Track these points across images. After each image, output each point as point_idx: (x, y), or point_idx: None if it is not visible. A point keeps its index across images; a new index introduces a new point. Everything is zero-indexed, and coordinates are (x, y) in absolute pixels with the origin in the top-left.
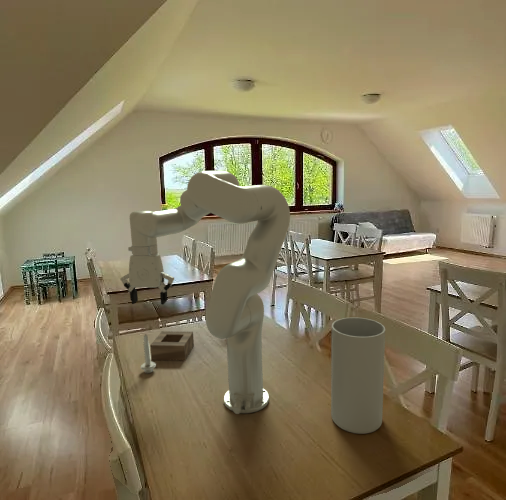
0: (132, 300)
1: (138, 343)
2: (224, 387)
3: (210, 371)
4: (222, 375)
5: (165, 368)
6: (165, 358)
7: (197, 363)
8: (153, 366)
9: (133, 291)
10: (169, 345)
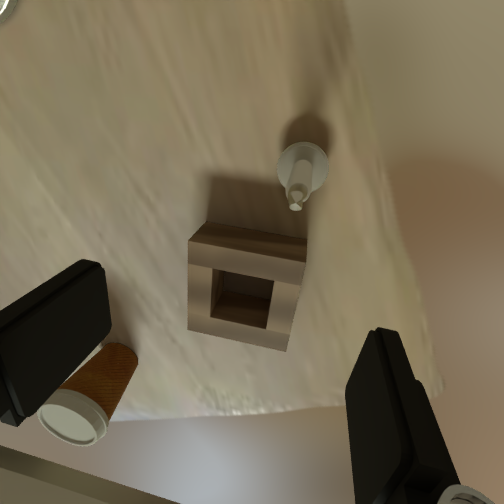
0: (394, 355)
1: None
2: (50, 37)
3: (118, 146)
4: (79, 117)
5: (253, 179)
6: (262, 233)
7: (167, 199)
8: (282, 158)
9: (401, 487)
10: (237, 250)
